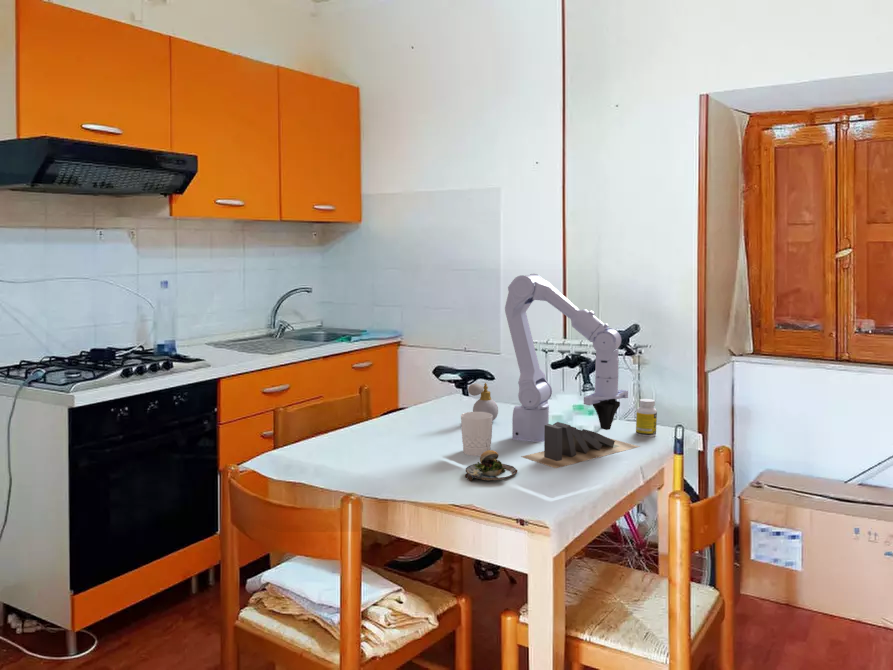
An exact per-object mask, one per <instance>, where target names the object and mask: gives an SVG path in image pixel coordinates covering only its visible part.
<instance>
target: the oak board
mask: <svg viewBox="0 0 893 670" xmlns="http://www.w3.org/2000/svg"><path fill="white" fill-rule="evenodd" d="M608 438H609V439H612V440H614V441H615V443H614V446H613V447H611V446H608V445H604V444H602V446H601V448H600V451H599V450H596V449H592V448H589V447H588V448H589V450H588V452H587V453H586V454H584V453H581V452H578V451H576V455H575V456H573V457H569V456H565V455H562V460H560V461H555V460H552V459H549V458H546V457H544V450H543V451H539V452H534V453H531V454H530V453H529V454H526V455H521V456H520V457H521V458H524V459H527V460H530V461H532V462H536V463H537V464H538V463H539V464H542V465H545V466H547V467H551V468H553V469H559V468H562V467H567V466H570V465H574V464H579V463H581V462H585V461H589V460H594V459H597V458H601V457H606V456H609V455H613V454H616V453H620V452H624V451H628V450H632V449H636V448H640V447H641V446H639V445H635V444H632V443H629V442H625V441H621V440H618V439H614V438H610V437H608Z"/></svg>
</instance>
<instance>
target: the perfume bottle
mask: <svg viewBox="0 0 893 670" xmlns="http://www.w3.org/2000/svg"><path fill="white" fill-rule="evenodd" d="M488 388H489V386H488V384H487V382H484V385H482V384H480V383H471V384H469V386H468V389H467V391H468V393H469V395H471V396H474V397H475V396H479V395H480V397H479V399H477V400H476V402H475V403H474V404H473V407H472V412H486V413H490V414H492V415H493V419H492V422H493V421H495V419H496V418H497V417H498V416H499V415H498V414H499V406H498V404H497V402H496V401H495V400H494V399H493V398H492V397H491V391H489V390H488Z"/></svg>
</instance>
